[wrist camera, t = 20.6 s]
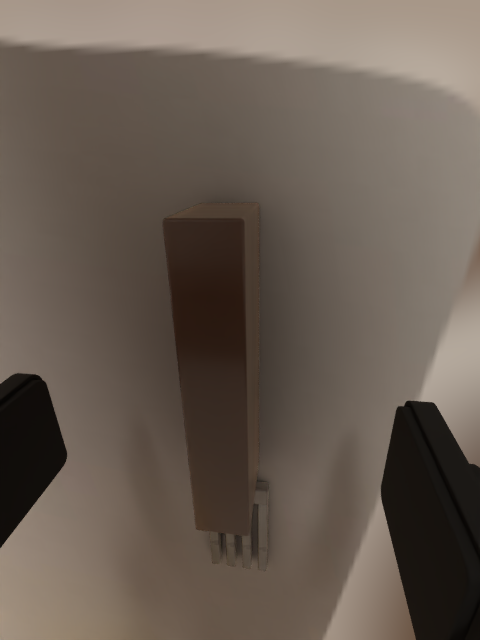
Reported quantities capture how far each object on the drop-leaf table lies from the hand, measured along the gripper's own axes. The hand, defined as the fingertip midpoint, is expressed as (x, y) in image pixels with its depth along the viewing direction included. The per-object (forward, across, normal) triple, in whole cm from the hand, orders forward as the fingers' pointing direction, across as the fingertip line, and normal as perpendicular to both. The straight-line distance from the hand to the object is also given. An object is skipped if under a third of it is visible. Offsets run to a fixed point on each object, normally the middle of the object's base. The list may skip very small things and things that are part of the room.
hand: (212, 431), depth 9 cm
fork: (+4, 0, +3) cm, 4 cm away
